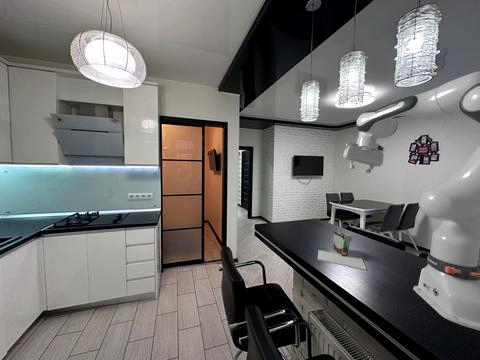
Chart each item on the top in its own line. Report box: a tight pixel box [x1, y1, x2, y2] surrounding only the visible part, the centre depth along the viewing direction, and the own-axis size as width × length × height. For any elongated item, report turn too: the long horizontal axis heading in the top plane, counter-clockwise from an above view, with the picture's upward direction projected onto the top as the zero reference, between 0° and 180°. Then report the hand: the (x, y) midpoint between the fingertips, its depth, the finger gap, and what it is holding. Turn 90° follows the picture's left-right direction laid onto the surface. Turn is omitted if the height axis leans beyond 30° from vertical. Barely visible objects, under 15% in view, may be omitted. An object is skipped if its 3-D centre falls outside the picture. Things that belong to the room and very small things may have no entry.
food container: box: [332, 230, 353, 256], centre depth 101 cm, size 12×6×10 cm, turn 179°
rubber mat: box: [317, 249, 367, 271], centre depth 94 cm, size 12×20×1 cm, turn 66°
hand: (360, 170), depth 103 cm, fingers open, 8 cm apart
